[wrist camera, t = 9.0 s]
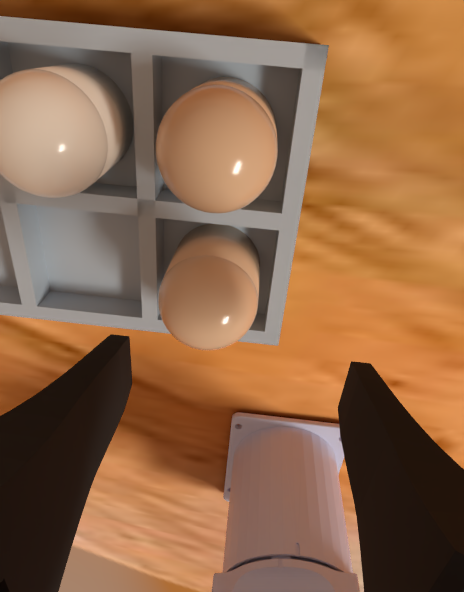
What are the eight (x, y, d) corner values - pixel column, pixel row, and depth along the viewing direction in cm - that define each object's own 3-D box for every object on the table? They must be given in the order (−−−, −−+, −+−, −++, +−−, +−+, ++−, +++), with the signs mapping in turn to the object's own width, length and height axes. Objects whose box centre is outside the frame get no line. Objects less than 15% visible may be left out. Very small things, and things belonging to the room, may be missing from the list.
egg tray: (277, 318, 24) (278, 345, 22) (-60, 280, 25) (-92, 304, 23) (321, 44, 17) (328, 45, 15) (-150, 2, 18) (-210, -3, 16)
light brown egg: (133, 176, 20) (89, 223, 15) (39, 163, 20) (-35, 205, 15) (133, 71, 18) (82, 85, 13) (27, 55, 17) (-66, 63, 13)
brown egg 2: (255, 303, 23) (251, 376, 18) (175, 295, 23) (148, 365, 18) (264, 227, 21) (262, 287, 16) (175, 219, 21) (144, 275, 16)
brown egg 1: (270, 187, 20) (269, 238, 15) (176, 178, 20) (143, 225, 15) (283, 81, 17) (287, 98, 12) (176, 72, 17) (138, 85, 12)
